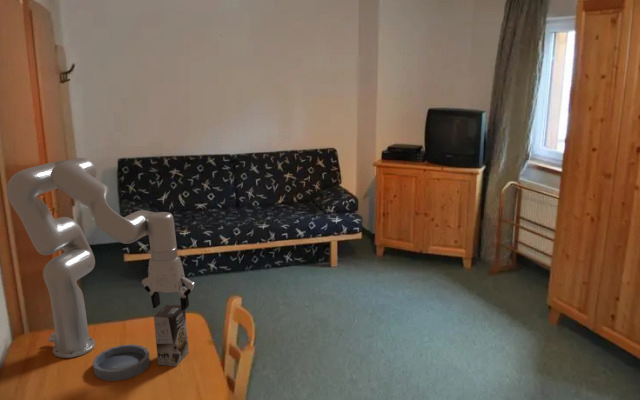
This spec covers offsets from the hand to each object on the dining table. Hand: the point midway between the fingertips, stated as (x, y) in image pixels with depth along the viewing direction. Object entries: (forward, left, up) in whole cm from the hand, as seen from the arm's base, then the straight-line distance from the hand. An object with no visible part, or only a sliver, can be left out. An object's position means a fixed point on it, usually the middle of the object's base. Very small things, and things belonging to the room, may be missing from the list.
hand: (170, 307), depth 172 cm
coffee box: (-1, 0, -17) cm, 17 cm away
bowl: (-14, -8, -17) cm, 23 cm away
